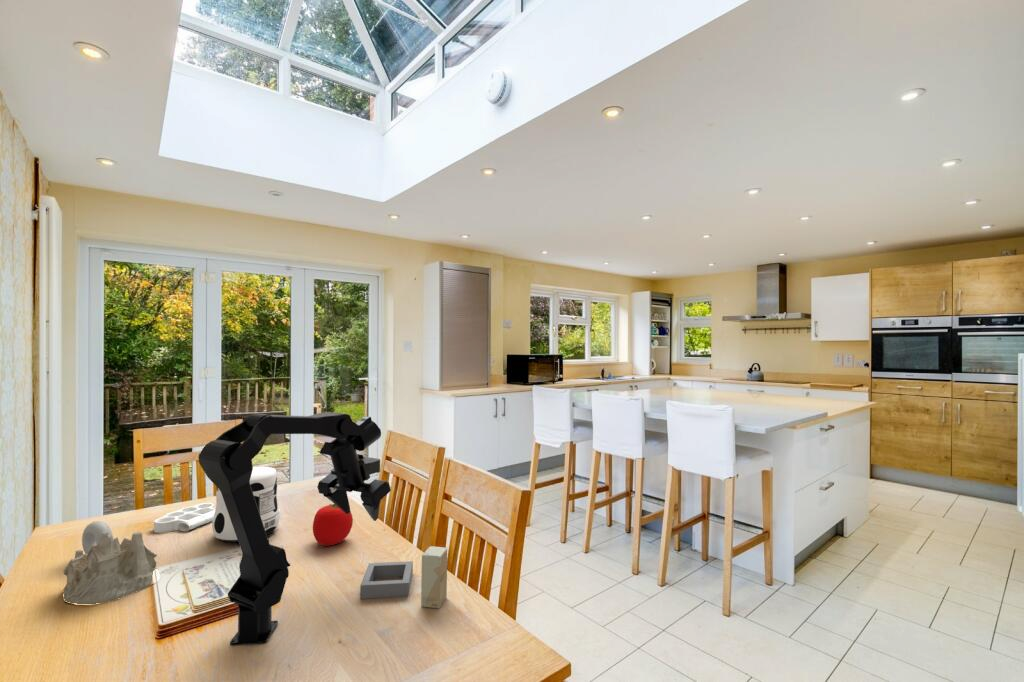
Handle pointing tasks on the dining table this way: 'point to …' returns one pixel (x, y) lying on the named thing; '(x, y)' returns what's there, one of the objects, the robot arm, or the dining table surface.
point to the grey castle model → (109, 570)
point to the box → (434, 577)
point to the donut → (94, 534)
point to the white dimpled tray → (185, 518)
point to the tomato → (331, 525)
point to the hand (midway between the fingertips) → (362, 516)
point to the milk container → (266, 501)
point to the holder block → (386, 587)
